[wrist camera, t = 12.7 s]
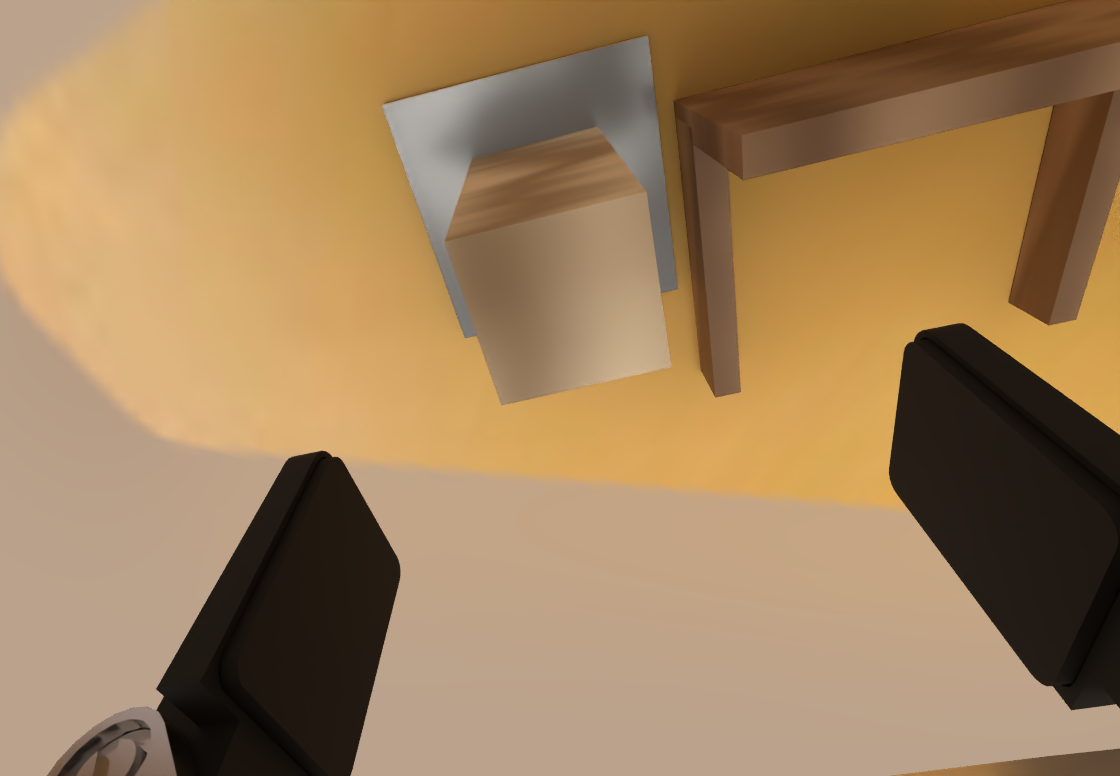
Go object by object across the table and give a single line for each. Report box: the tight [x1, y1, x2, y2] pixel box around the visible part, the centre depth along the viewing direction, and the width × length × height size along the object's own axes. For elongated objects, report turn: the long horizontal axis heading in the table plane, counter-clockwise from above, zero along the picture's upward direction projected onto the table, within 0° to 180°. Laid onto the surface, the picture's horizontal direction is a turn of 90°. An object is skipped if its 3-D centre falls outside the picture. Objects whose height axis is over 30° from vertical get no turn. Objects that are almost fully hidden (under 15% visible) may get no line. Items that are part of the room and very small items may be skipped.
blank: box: [444, 127, 671, 405], centre depth 19 cm, size 5×5×10 cm
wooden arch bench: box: [674, 0, 1120, 398], centre depth 22 cm, size 16×13×8 cm
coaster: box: [382, 35, 678, 338], centre depth 24 cm, size 10×10×1 cm
